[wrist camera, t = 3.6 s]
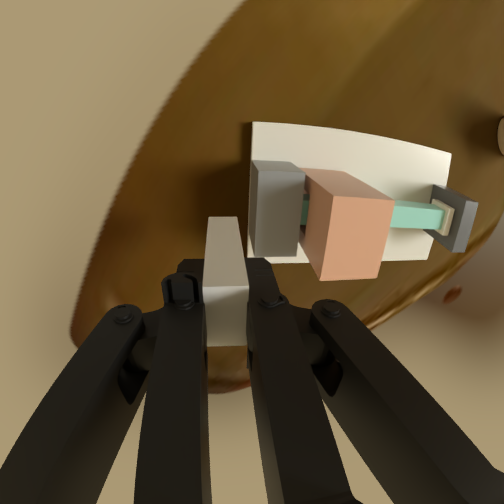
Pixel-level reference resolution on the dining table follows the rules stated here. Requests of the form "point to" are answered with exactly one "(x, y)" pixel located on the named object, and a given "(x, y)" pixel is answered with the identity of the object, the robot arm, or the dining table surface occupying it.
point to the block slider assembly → (363, 168)
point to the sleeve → (344, 225)
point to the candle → (501, 135)
